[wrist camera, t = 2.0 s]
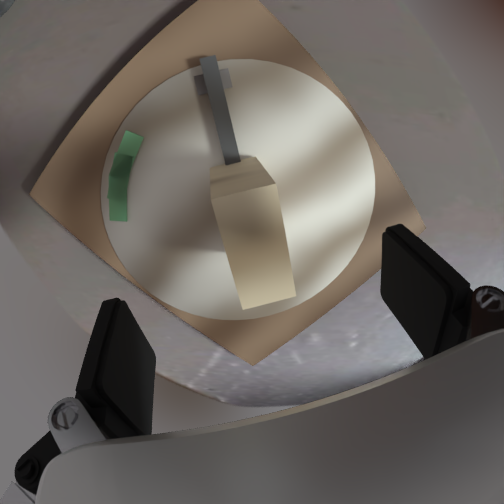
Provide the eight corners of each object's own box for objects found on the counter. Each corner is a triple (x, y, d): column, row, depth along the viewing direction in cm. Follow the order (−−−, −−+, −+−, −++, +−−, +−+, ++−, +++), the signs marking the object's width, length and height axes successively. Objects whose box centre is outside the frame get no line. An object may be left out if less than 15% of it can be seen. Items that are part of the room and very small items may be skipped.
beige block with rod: (273, 243, 21) (296, 296, 16) (233, 253, 21) (242, 309, 16) (231, 52, 15) (243, 32, 10) (183, 64, 15) (171, 48, 10)
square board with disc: (416, 220, 24) (427, 229, 23) (250, 354, 28) (253, 367, 27) (229, -16, 14) (231, -25, 13) (38, 187, 19) (27, 195, 17)
